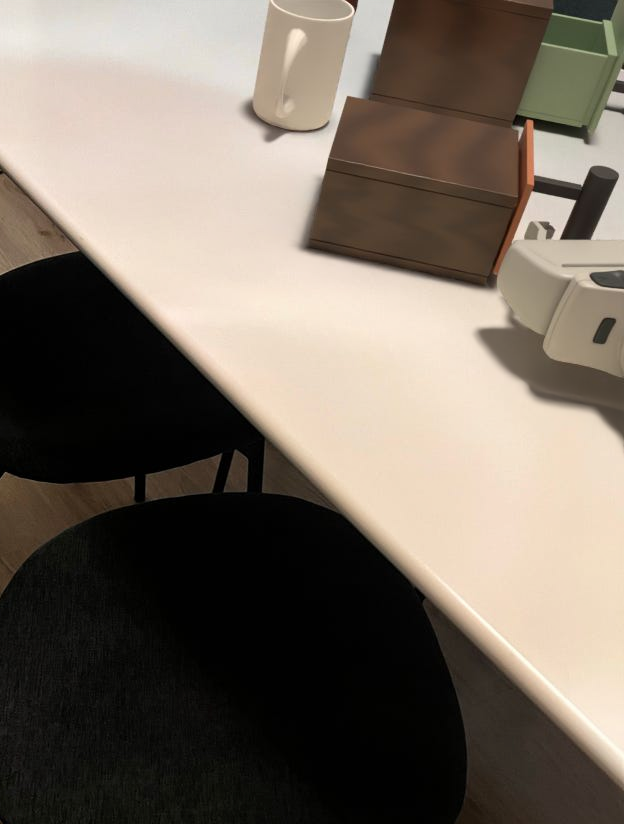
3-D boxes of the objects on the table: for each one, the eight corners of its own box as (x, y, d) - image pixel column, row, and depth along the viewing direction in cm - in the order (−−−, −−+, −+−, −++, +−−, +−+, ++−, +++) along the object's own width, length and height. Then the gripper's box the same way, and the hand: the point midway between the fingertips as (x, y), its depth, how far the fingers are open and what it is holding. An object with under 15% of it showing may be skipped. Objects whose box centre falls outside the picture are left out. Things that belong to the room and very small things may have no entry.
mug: (231, 131, 106) (249, 17, 98) (264, 91, 113) (283, -18, 105) (310, 152, 104) (335, 38, 96) (338, 110, 112) (363, 1, 104)
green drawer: (642, 99, 120) (691, -10, 112) (652, 146, 111) (706, 31, 103) (458, 63, 122) (492, -48, 113) (453, 106, 113) (489, -10, 105)
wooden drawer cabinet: (511, 83, 122) (551, -31, 113) (510, 129, 113) (553, 8, 104) (380, 57, 124) (409, -58, 115) (369, 100, 115) (399, -21, 106)
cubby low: (488, 214, 99) (519, 130, 93) (484, 285, 90) (518, 197, 84) (327, 180, 101) (347, 95, 95) (307, 247, 92) (328, 157, 86)
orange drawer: (568, 220, 98) (611, 118, 91) (572, 290, 89) (620, 184, 82) (343, 173, 100) (368, 70, 92) (326, 237, 91) (352, 129, 84)
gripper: (808, 282, 77) (712, 194, 86) (563, 284, 73) (489, 191, 82) (762, 354, 82) (676, 263, 90) (529, 359, 78) (463, 264, 87)
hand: (585, 229), depth 86 cm, fingers open, 8 cm apart
